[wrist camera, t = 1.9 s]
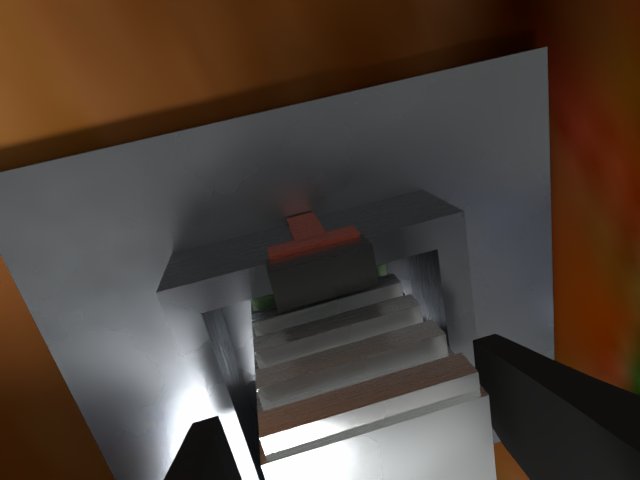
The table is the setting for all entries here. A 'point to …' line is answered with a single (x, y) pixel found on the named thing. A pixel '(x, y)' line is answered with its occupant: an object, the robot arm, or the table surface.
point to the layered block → (366, 392)
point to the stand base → (281, 242)
